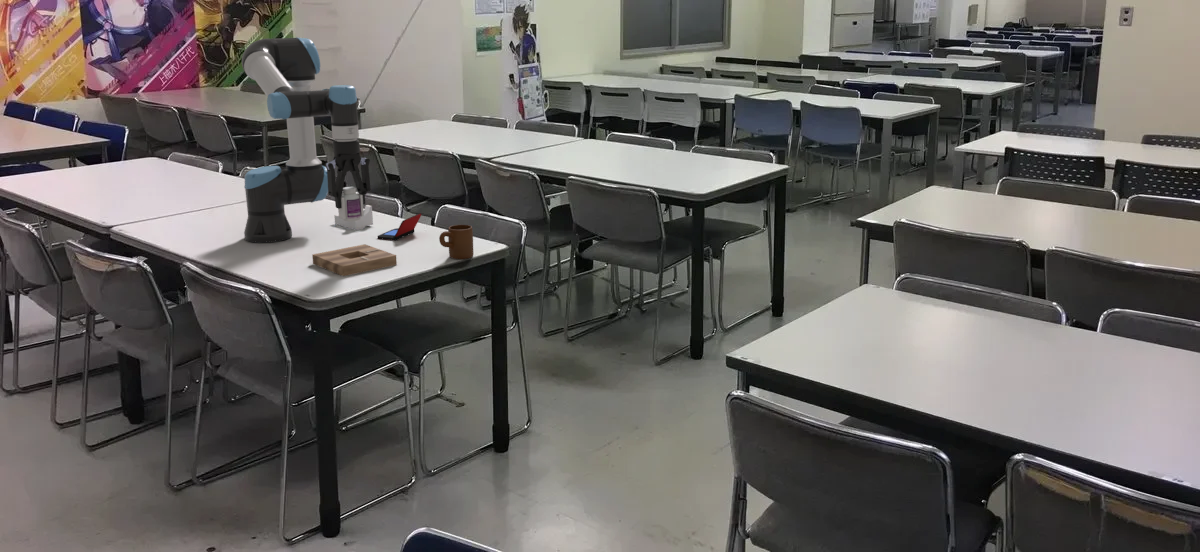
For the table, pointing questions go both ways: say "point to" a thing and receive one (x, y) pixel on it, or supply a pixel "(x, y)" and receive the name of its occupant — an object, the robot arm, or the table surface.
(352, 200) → the pill bottle
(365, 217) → the bracket
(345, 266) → the board
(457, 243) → the mug
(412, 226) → the handheld game console
